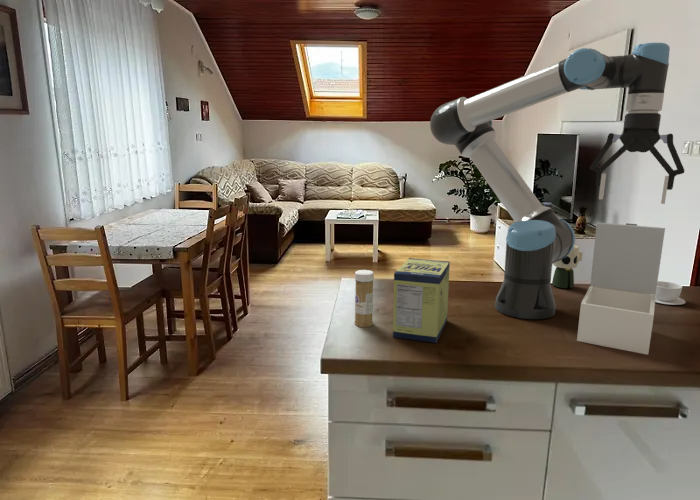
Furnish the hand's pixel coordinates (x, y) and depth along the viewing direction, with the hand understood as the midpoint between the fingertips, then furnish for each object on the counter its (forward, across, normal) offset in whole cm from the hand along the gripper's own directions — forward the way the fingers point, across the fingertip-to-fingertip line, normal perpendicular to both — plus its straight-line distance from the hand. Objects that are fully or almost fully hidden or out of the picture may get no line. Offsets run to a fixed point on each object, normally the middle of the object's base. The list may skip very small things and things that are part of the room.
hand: (630, 201), depth 125 cm
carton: (+29, +1, -17) cm, 34 cm away
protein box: (+30, -38, -38) cm, 62 cm away
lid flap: (+21, +1, -9) cm, 23 cm away
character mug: (+30, -16, +18) cm, 38 cm away
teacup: (+30, +10, +20) cm, 38 cm away
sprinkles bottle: (+30, -51, -43) cm, 73 cm away
